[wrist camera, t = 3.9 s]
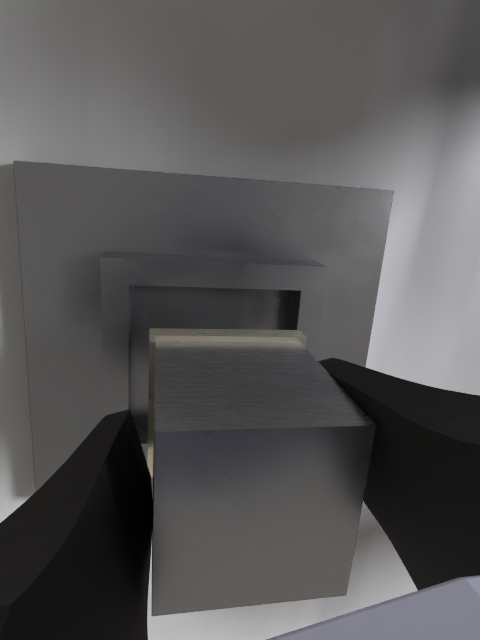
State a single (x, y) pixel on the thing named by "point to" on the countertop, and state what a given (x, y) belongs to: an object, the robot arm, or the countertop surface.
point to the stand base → (177, 279)
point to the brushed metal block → (250, 470)
